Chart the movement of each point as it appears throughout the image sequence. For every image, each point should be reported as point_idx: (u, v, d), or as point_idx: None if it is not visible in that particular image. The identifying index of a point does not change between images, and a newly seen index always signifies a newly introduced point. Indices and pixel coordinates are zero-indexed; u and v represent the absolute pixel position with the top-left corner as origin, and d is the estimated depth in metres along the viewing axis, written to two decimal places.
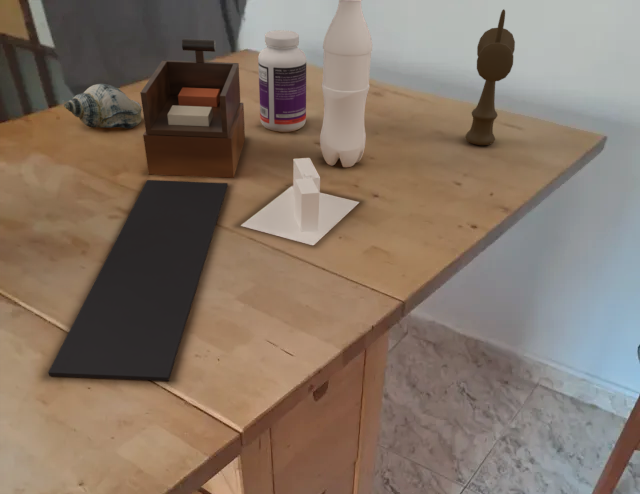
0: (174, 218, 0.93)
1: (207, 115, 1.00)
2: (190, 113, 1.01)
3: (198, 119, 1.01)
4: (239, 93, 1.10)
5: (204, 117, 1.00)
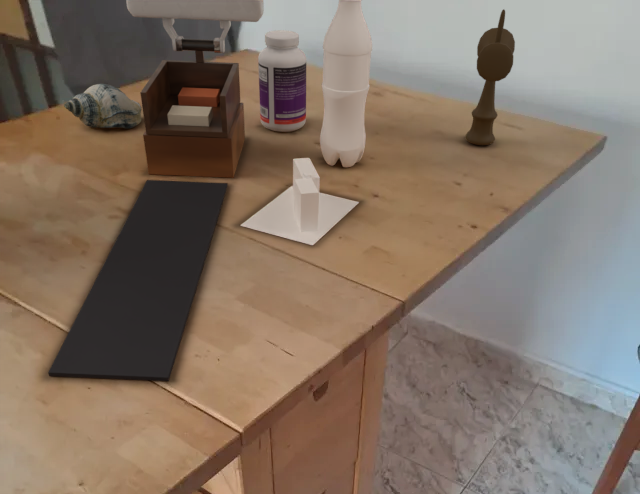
0: (174, 218, 0.93)
1: (207, 115, 1.00)
2: (190, 113, 1.01)
3: (198, 119, 1.01)
4: (239, 93, 1.10)
5: (204, 117, 1.00)
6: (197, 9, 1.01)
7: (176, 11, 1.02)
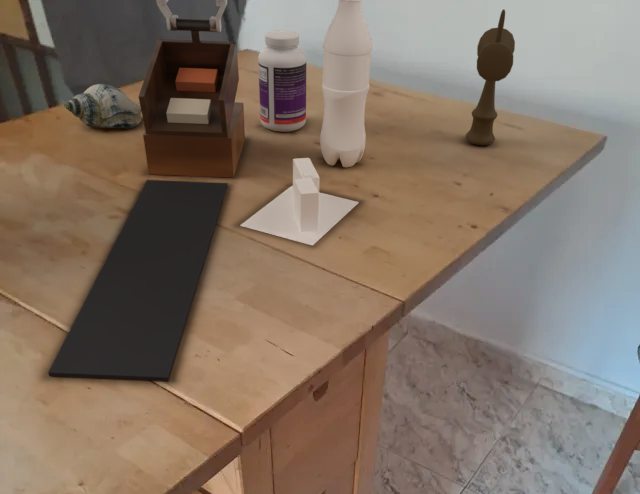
0: (174, 218, 0.93)
1: (206, 113, 1.00)
2: (189, 110, 1.00)
3: (197, 117, 1.00)
4: (237, 72, 1.08)
5: (203, 116, 1.00)
6: None
7: None
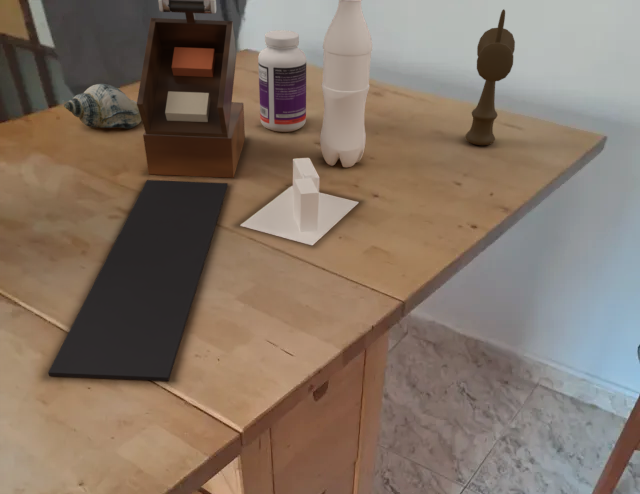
0: (174, 218, 0.93)
1: (205, 113, 0.99)
2: (188, 109, 0.99)
3: (196, 117, 0.99)
4: (235, 49, 1.04)
5: (202, 115, 0.99)
6: None
7: None
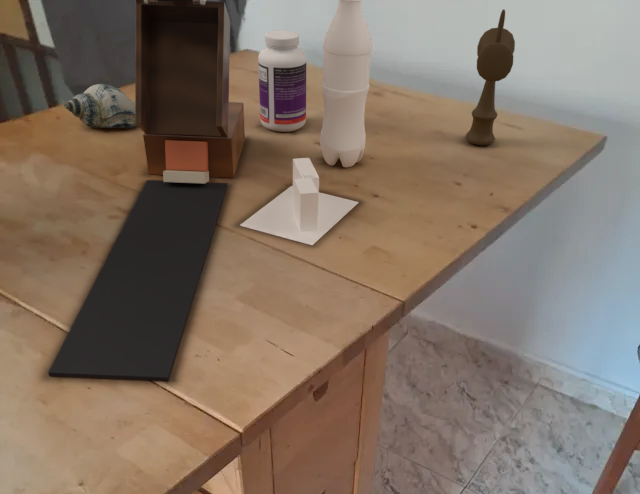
0: (174, 218, 0.93)
1: (208, 181, 1.03)
2: None
3: None
4: (228, 21, 0.97)
5: None
6: None
7: None
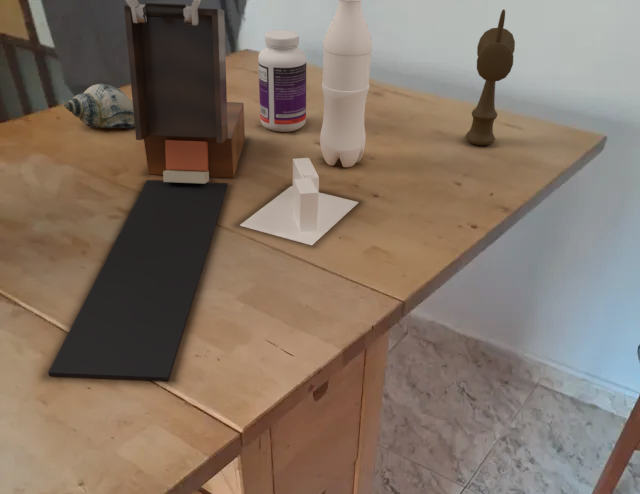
0: (174, 218, 0.93)
1: (208, 181, 1.03)
2: None
3: None
4: (222, 16, 0.91)
5: None
6: None
7: None
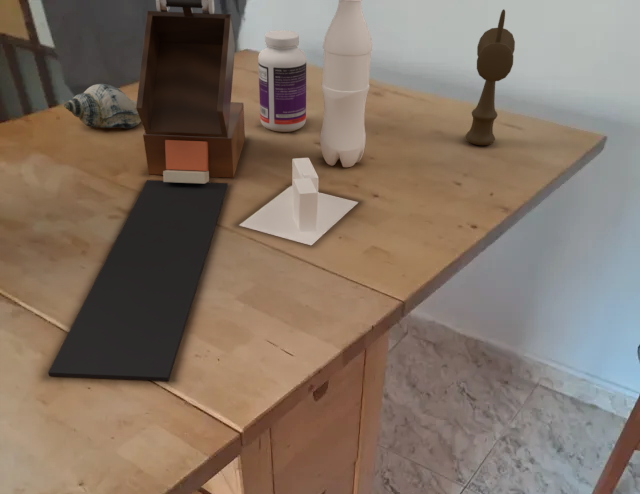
0: (174, 218, 0.93)
1: (208, 181, 1.03)
2: None
3: None
4: (233, 41, 1.02)
5: None
6: None
7: None
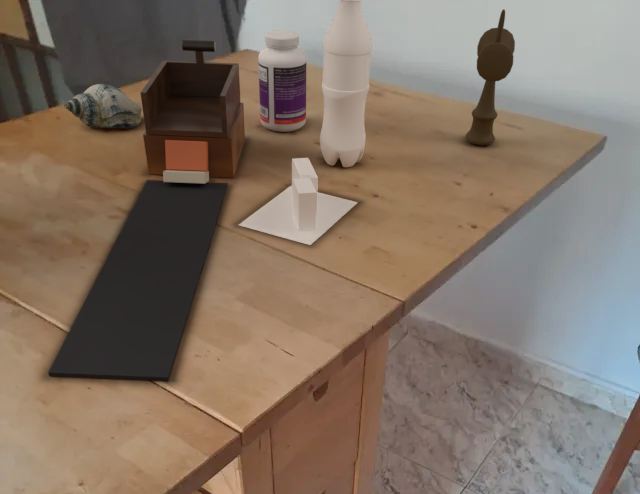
0: (174, 218, 0.93)
1: (208, 181, 1.03)
2: None
3: None
4: (239, 93, 1.11)
5: None
6: None
7: None
